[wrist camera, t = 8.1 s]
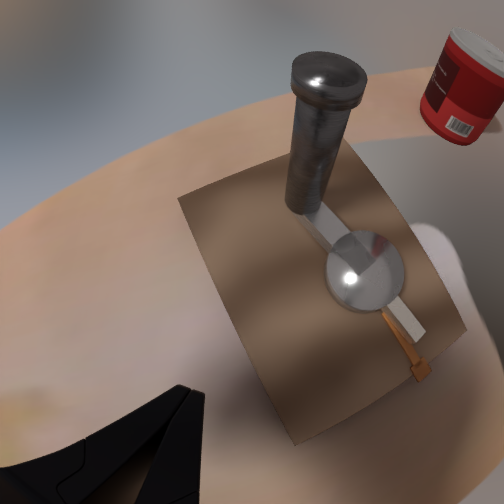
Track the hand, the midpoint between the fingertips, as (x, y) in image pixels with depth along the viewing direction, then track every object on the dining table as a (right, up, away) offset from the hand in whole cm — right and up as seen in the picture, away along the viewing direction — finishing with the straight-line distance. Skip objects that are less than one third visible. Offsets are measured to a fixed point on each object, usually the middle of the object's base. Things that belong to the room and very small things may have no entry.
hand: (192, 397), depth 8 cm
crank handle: (+8, +4, +11) cm, 14 cm away
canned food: (+24, +19, +18) cm, 35 cm away
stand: (+7, +3, +12) cm, 14 cm away
